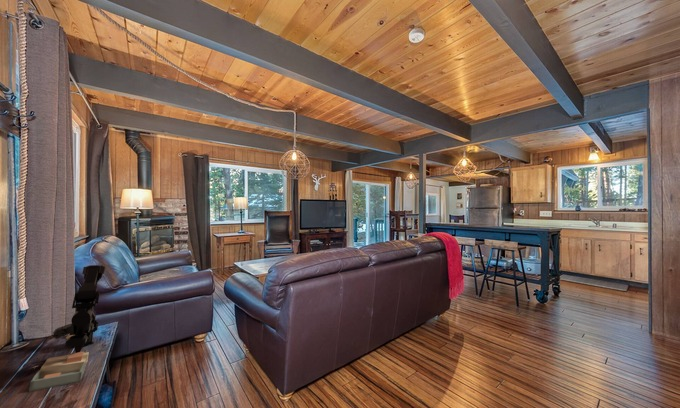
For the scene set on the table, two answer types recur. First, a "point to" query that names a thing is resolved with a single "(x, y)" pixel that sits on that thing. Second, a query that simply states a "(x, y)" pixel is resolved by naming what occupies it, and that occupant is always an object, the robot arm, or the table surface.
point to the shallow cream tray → (62, 365)
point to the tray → (55, 380)
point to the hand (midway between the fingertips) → (77, 353)
